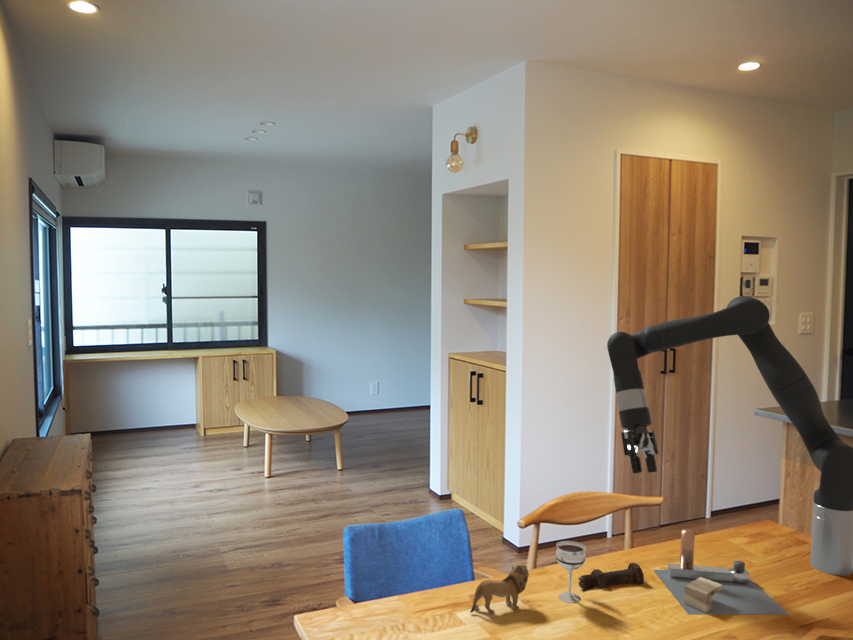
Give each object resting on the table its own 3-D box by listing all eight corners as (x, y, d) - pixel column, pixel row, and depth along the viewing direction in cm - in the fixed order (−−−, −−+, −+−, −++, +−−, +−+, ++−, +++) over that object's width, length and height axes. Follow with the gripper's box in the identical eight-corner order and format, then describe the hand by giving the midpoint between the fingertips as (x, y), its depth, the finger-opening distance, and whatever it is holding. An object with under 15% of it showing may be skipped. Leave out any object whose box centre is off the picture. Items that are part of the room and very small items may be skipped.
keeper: (699, 594, 155) (700, 576, 155) (721, 602, 152) (722, 584, 151) (684, 603, 151) (684, 585, 151) (705, 612, 147) (706, 594, 147)
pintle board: (652, 574, 168) (653, 552, 168) (740, 574, 169) (741, 552, 168) (688, 619, 146) (689, 594, 146) (789, 619, 147) (790, 594, 146)
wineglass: (587, 594, 157) (588, 543, 157) (581, 607, 151) (582, 554, 150) (558, 588, 160) (559, 538, 159) (551, 600, 154) (552, 549, 153)
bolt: (579, 596, 160) (636, 588, 164) (587, 595, 156) (646, 587, 159) (573, 571, 163) (630, 563, 166) (581, 568, 158) (640, 561, 162)
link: (745, 576, 165) (747, 531, 164) (751, 584, 160) (753, 538, 159) (667, 570, 167) (668, 526, 167) (670, 577, 163) (672, 533, 162)
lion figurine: (520, 596, 156) (520, 558, 156) (533, 606, 151) (534, 567, 151) (464, 609, 150) (465, 570, 149) (476, 620, 145) (477, 579, 144)
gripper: (634, 404, 167) (646, 471, 163) (658, 407, 178) (671, 470, 173) (607, 410, 172) (618, 475, 168) (632, 412, 183) (644, 473, 178)
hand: (645, 472), depth 171 cm, fingers open, 8 cm apart
